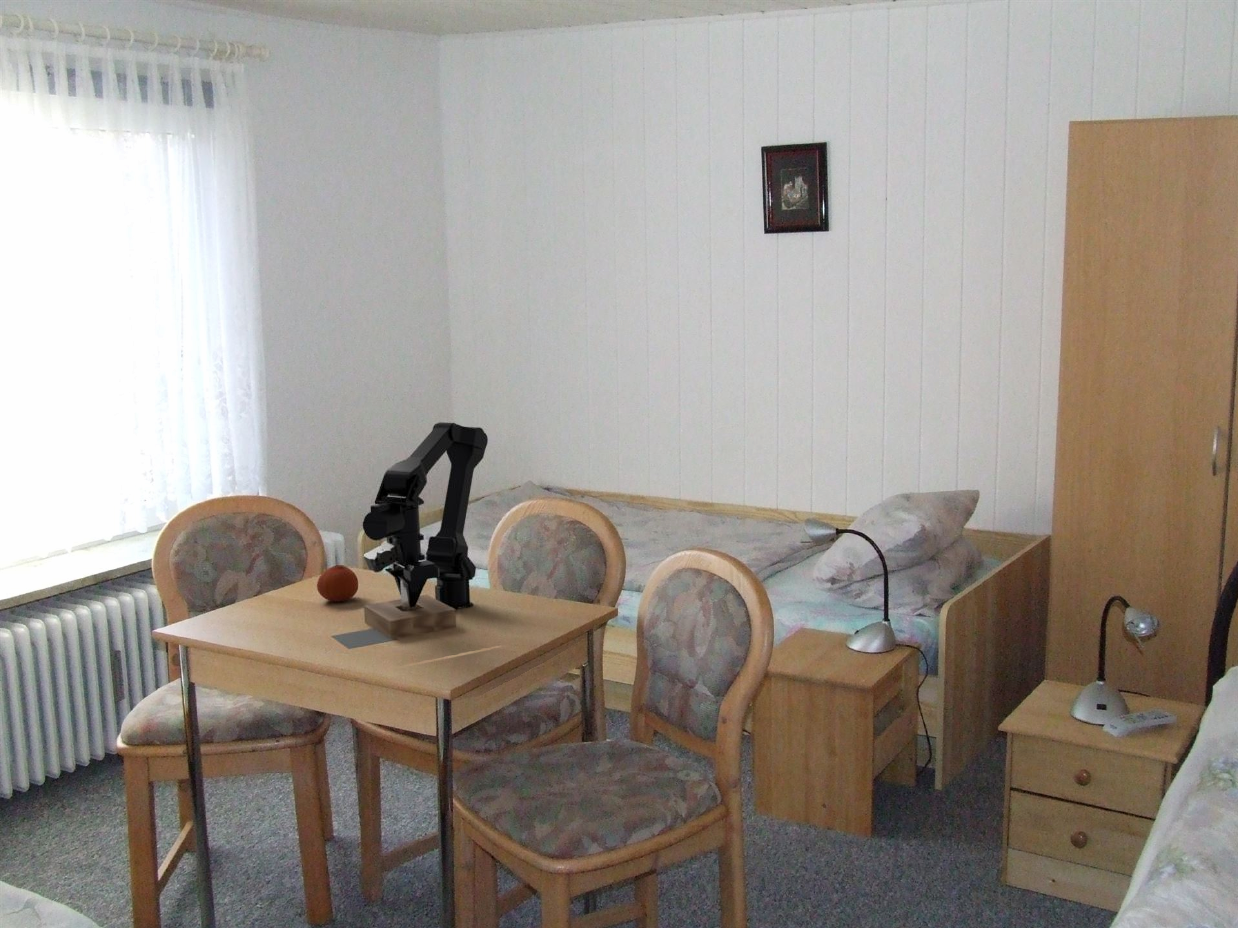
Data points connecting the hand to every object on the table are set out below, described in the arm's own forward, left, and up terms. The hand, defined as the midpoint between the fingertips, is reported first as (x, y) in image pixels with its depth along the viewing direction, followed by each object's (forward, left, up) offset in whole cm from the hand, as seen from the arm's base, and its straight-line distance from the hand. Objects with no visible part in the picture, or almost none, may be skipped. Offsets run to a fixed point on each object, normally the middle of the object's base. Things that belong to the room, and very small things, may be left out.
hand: (409, 604), depth 254 cm
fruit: (+5, -28, -5) cm, 29 cm away
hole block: (0, 0, -4) cm, 4 cm away
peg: (0, 0, -4) cm, 4 cm away
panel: (+11, +3, -4) cm, 12 cm away
